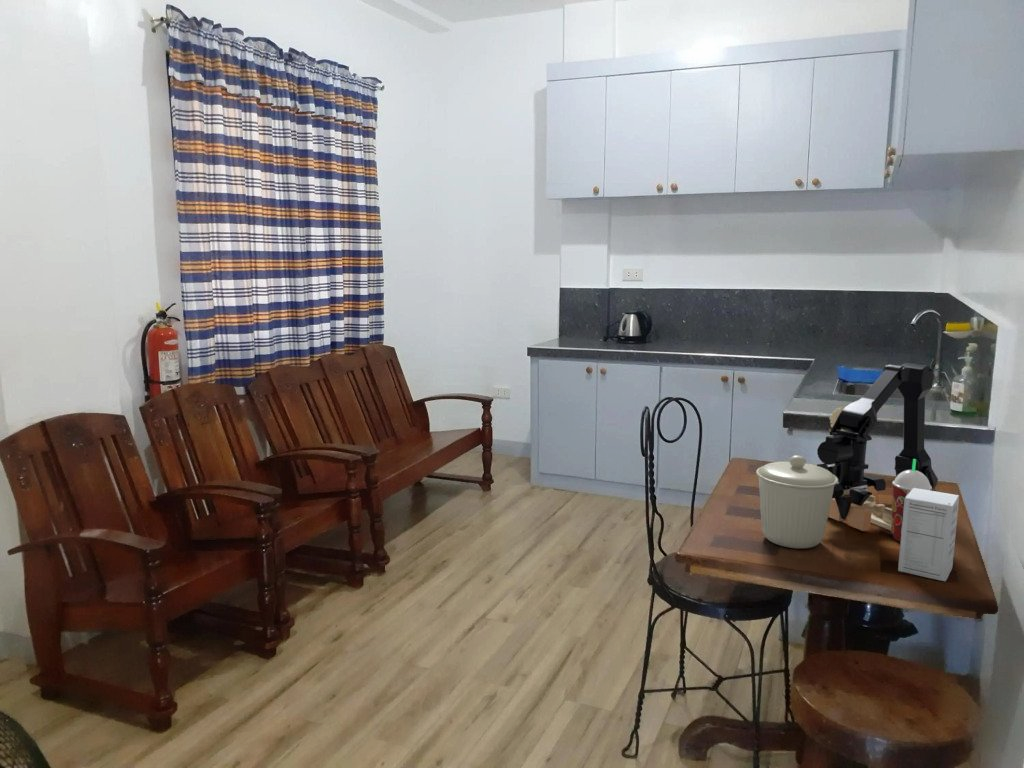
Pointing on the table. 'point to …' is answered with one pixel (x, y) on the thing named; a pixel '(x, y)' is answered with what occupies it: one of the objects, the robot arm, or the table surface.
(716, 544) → the table surface
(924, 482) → the smoothie
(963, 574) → the table surface
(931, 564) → the supplement box
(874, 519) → the display stand
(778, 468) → the canister
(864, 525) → the tapered tan board
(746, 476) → the table surface
